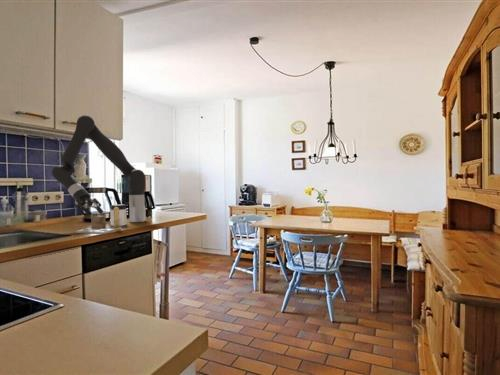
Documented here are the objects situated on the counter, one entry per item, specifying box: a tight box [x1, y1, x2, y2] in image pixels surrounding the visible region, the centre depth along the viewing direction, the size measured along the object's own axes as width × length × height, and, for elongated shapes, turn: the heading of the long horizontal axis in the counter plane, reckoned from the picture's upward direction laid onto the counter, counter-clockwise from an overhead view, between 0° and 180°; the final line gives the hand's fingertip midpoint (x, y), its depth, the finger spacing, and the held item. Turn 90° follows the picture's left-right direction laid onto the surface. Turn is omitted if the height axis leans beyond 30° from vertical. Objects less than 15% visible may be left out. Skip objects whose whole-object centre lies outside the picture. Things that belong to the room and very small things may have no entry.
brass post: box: [111, 207, 122, 231], centre depth 172 cm, size 4×4×12 cm
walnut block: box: [90, 215, 107, 229], centre depth 176 cm, size 5×5×7 cm
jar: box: [109, 203, 128, 227], centre depth 190 cm, size 9×8×12 cm
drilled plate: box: [75, 227, 115, 235], centre depth 165 cm, size 8×17×1 cm, turn 73°
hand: (96, 213), depth 176 cm, fingers open, 8 cm apart
